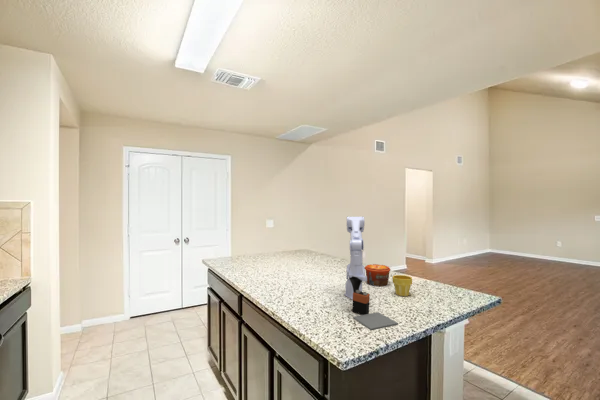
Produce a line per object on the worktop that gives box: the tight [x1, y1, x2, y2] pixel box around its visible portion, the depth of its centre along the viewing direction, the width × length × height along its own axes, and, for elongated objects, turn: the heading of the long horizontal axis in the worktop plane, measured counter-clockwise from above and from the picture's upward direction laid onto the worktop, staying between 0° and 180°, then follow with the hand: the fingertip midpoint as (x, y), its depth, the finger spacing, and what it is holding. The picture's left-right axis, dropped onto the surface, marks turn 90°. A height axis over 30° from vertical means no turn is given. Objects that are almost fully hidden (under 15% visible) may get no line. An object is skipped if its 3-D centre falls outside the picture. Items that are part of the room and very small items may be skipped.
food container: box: [364, 263, 392, 287], centre depth 181 cm, size 16×16×11 cm
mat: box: [352, 311, 399, 331], centre depth 124 cm, size 13×14×1 cm
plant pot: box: [392, 274, 413, 297], centre depth 160 cm, size 10×10×10 cm
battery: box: [351, 290, 371, 315], centre depth 133 cm, size 4×7×10 cm, turn 54°
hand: (356, 292), depth 136 cm, fingers closed, pressing on battery
